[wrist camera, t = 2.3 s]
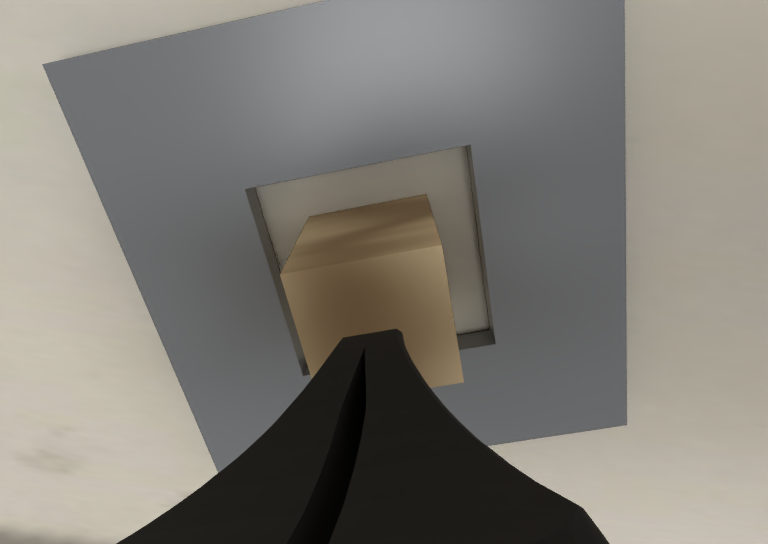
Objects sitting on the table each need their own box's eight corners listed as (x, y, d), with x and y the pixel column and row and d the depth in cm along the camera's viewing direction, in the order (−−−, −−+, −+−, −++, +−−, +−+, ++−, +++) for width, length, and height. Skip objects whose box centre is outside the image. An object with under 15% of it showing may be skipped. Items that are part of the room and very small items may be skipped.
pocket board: (607, -59, 13) (624, -67, 13) (615, 408, 20) (626, 425, 19) (63, 64, 15) (42, 64, 14) (230, 466, 21) (223, 485, 20)
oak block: (426, 193, 16) (441, 245, 12) (443, 300, 18) (464, 382, 13) (309, 216, 17) (279, 274, 12) (336, 318, 18) (319, 405, 14)
